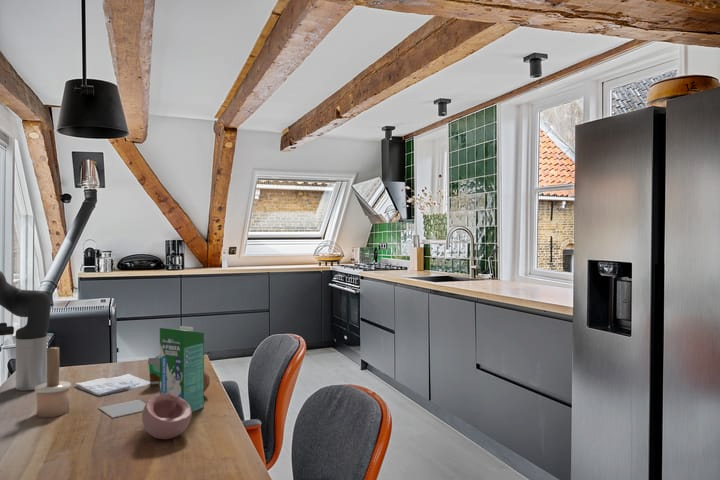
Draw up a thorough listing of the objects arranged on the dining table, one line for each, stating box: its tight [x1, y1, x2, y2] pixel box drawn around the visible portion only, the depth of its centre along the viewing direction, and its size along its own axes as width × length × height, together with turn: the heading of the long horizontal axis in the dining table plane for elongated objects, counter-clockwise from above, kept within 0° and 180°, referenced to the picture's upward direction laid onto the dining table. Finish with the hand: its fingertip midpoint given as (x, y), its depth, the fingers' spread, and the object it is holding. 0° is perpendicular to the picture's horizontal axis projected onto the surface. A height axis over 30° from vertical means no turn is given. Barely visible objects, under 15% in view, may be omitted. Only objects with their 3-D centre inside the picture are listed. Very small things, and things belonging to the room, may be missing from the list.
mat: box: [98, 399, 147, 419], centre depth 163 cm, size 12×12×1 cm
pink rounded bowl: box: [141, 393, 193, 440], centre depth 140 cm, size 12×12×12 cm
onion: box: [204, 370, 211, 392], centre depth 176 cm, size 10×9×10 cm
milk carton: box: [159, 325, 205, 413], centre depth 162 cm, size 9×9×25 cm
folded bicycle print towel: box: [74, 373, 150, 397], centre depth 189 cm, size 19×20×2 cm
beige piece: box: [34, 346, 72, 393], centre depth 159 cm, size 9×9×12 cm
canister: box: [35, 389, 70, 418], centre depth 159 cm, size 8×8×7 cm
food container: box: [147, 355, 160, 387], centre depth 192 cm, size 12×6×10 cm, turn 168°
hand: (10, 328), depth 152 cm, fingers open, 8 cm apart
